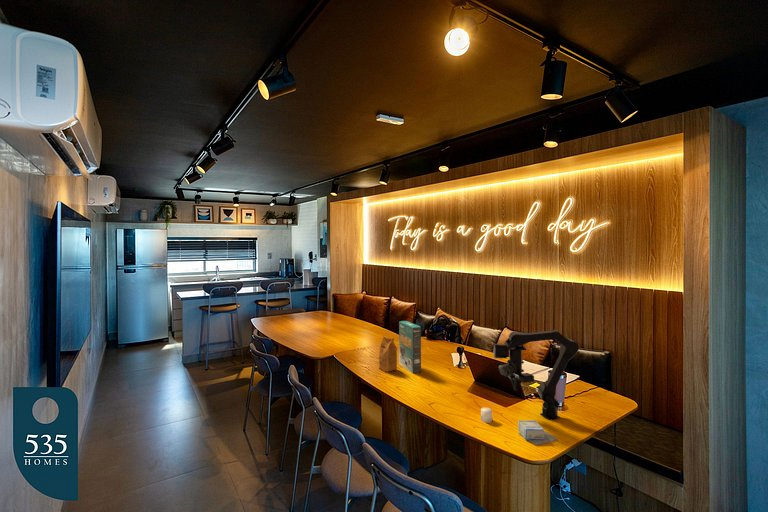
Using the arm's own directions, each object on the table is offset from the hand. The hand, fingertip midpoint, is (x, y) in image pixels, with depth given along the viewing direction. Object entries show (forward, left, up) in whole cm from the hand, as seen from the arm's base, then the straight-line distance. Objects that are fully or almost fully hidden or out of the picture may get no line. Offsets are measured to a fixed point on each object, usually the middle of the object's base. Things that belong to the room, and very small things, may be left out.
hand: (515, 390), depth 179 cm
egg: (+17, 0, -12) cm, 21 cm away
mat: (+6, +21, -12) cm, 25 cm away
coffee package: (+33, -86, -12) cm, 93 cm away
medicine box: (+6, +14, -10) cm, 18 cm away
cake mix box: (+18, -83, -12) cm, 86 cm away
